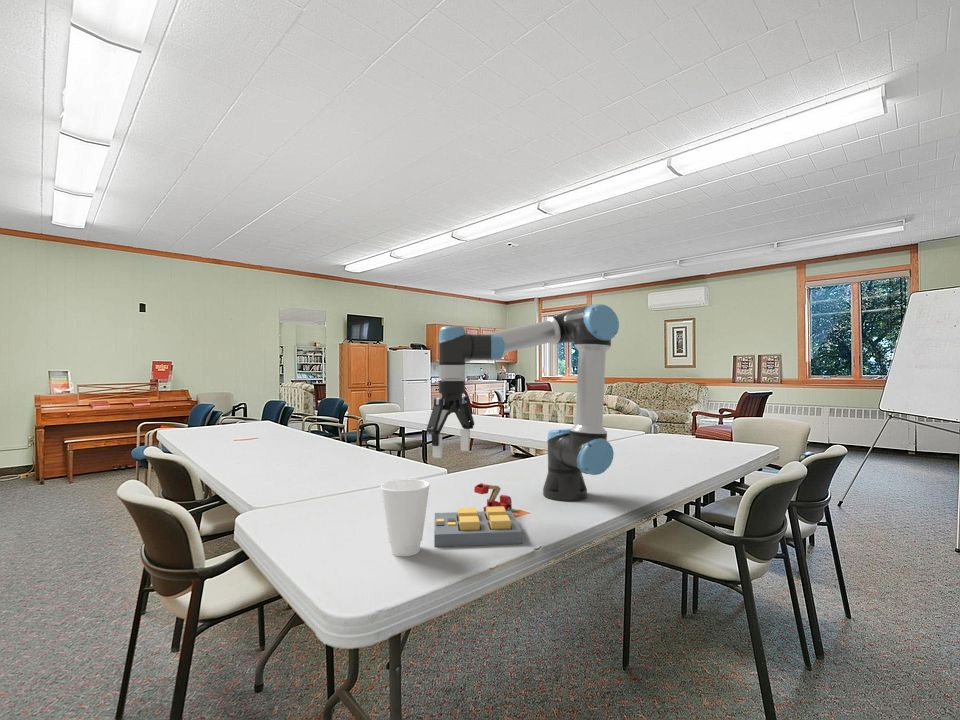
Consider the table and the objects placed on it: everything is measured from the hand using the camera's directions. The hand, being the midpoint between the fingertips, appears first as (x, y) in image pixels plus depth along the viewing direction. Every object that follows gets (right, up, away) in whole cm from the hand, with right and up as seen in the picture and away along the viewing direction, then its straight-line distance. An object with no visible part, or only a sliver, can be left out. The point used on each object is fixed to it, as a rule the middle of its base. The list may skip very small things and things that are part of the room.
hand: (451, 454), depth 138 cm
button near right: (+5, -18, -13) cm, 23 cm away
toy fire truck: (+12, -20, +9) cm, 25 cm away
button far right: (+5, -18, -5) cm, 19 cm away
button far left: (+13, -18, -4) cm, 22 cm away
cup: (-10, -19, -22) cm, 31 cm away
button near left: (+13, -18, -12) cm, 25 cm away
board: (+7, -19, -9) cm, 22 cm away
